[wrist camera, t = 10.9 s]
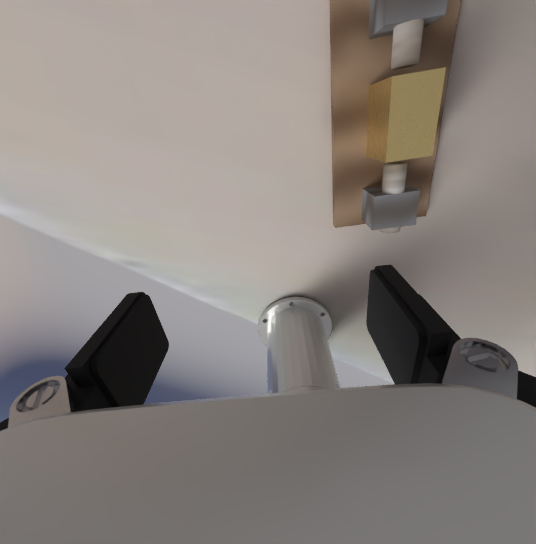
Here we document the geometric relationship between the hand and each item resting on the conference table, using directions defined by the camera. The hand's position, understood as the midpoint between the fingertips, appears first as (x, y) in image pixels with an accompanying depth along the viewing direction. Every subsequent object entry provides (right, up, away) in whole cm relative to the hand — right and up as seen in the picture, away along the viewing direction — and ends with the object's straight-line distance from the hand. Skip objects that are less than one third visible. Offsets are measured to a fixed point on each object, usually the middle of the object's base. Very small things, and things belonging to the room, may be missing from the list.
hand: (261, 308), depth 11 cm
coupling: (+14, +19, +18) cm, 29 cm away
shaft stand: (+14, +19, +19) cm, 30 cm away
